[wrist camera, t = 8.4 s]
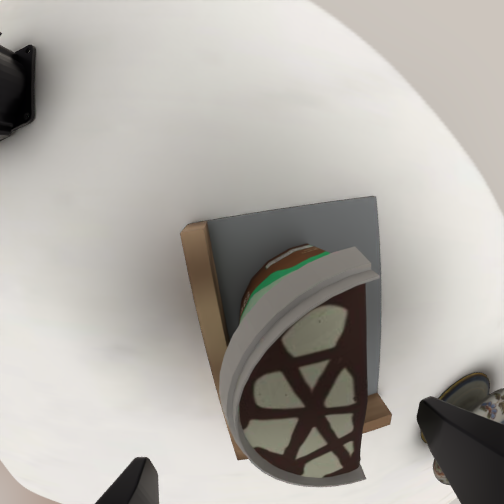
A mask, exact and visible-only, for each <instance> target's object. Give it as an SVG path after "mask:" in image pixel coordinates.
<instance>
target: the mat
mask: <svg viewBox="0 0 504 504" xmlns="http://www.w3.org/2000/svg"><path fill="white" fill-rule="evenodd" d="M207 224H208V230H209V236H210V241H211V247H212V252H213V258H214V263H215V268H216V274H217V279H218V284H219V289H220V294H221V299H222V304H223V309H224V314H225V319H226V324H227V329H228V334H229V339H230V341H231V338H232V336H233V334H234V332H235V331H236V329H237V328H238V326H239V316H240V308H241V300H242V297H243V295H244V293H245V291H246V289H247V286H248V284H249V282H250V280H251V278H252V277H253V276H254V275H255V274H256V273H257V272H258V271H259V270H260V269H261V267H262V266H263V265H264V264H265V263H266V262H267V261H268V260H270V259H272V258H273V257H275V256H277V255H278V254H280V253H282V252H284V251H285V250H287V249H289V248H292V247H295V246H299V245H303V244H307V243H308V244H310V245H313V246H315V247H318V248H320V249H322V250H325V251H327V252H330V253H333V252H336V251H340V250H344V249H347V248H351V247H354V246H355V247H356V248H357V249H358V250H359V251H360V252H361V253H362V254H363V255H364V256H365V257H366V258H367V259H368V260H369V261H370V263H371V270H373V271H374V272H375V273H377V274H378V275H379V276H380V278H379V279H376V280H373V281H370V282H367V283H366V318H367V380H368V395H371V394H374V393H377V389H378V377H379V362H380V340H381V263H380V241H379V226H378V213H377V201H376V196H370V197H362V198H354V199H347V200H339V201H332V202H324V203H317V204H310V205H303V206H296V207H289V208H283V209H276V210H269V211H263V212H257V213H250V214H244V215H238V216H232V217H226V218H220V219H214V220H208V221H207Z"/></svg>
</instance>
